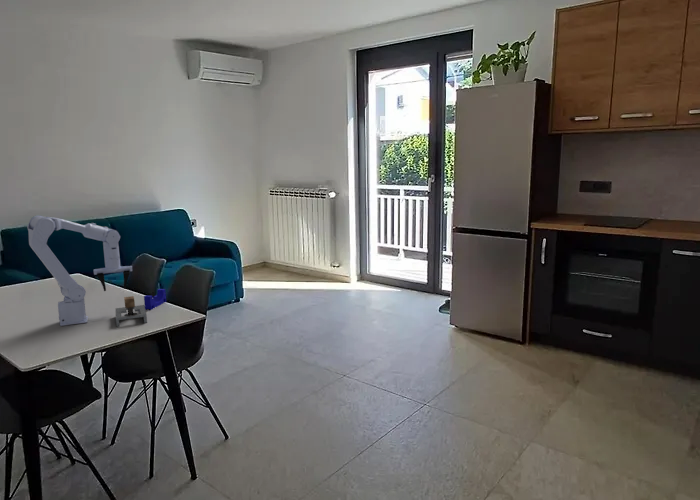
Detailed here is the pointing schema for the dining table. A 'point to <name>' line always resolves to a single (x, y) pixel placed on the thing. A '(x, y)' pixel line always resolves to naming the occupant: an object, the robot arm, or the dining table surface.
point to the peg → (129, 305)
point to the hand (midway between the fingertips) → (115, 289)
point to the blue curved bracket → (155, 299)
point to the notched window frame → (136, 308)
